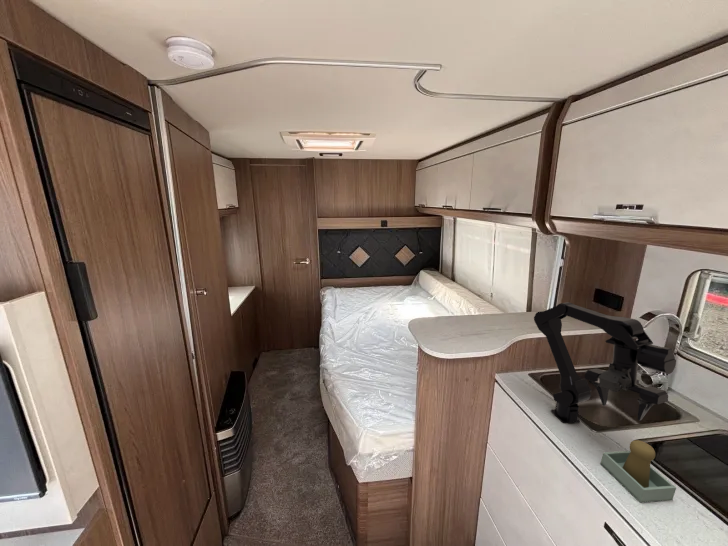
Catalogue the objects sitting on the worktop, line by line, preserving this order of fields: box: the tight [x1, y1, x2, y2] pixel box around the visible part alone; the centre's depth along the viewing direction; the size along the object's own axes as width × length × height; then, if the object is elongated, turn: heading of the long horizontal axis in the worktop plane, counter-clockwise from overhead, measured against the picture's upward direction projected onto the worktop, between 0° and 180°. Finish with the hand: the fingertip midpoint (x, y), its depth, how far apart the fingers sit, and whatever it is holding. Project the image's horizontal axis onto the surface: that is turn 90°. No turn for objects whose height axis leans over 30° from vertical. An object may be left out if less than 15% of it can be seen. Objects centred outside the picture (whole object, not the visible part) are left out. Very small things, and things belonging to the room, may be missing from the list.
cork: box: [622, 439, 656, 488], centre depth 84 cm, size 6×6×11 cm
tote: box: [600, 450, 677, 504], centre depth 85 cm, size 12×9×4 cm
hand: (621, 412), depth 93 cm, fingers open, 9 cm apart
